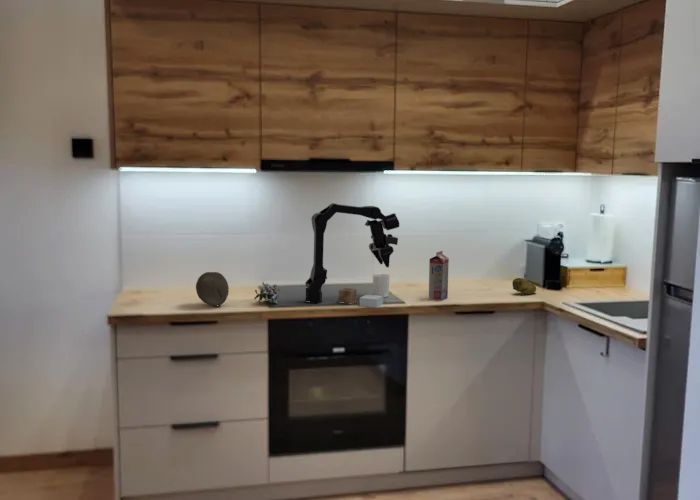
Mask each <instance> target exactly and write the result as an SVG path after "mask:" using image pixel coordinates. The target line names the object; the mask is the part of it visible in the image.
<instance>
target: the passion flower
mask: <svg viewBox="0 0 700 500" xmlns="http://www.w3.org/2000/svg"><path fill="white" fill-rule="evenodd" d="M261 284H262V285H263V287H264V288H263V287H261V289H260V293H258V291H257V289H254V292H255V294H256V296H255V297H254V298H253V300H256V299H258V303H261V301H262V300H263V299H265V300H266V299H267V300H268V299H271V300H270V301H272V303H273V304H274V303H275V302H278V300H279V296H280V294H279V292H280V291H281V290H280V288H279V287H278V286H277V284H276V283H275V284H272V285H271V284H269V283H265V282H264V281H263V282H262V283H261ZM277 291H278V292H277Z"/></svg>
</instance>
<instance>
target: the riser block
mask: <svg viewBox="0 0 700 500" xmlns="http://www.w3.org/2000/svg"><path fill="white" fill-rule="evenodd" d="M383 304H384V297H383V296H378V295H374V294H365V295H363V296H360V297H359V307H363V308H364V307H366V308H373V309H374V308H376V309H377V308H379V307H381V306H382V305H383Z"/></svg>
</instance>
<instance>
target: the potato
mask: <svg viewBox="0 0 700 500" xmlns="http://www.w3.org/2000/svg"><path fill="white" fill-rule="evenodd" d="M512 290H515V291H516V292H518V293H521V294H523V295H532V294H535V293H536V291H537V286H536V285H535V284H534V283H532V282H529V281H528V280H527V279H525V278H523V277H516V278H515V279H513V281H512Z"/></svg>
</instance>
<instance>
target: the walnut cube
mask: <svg viewBox="0 0 700 500" xmlns="http://www.w3.org/2000/svg"><path fill="white" fill-rule="evenodd" d="M355 301H356V302H357V289H356V288H348V287H347V288H346V287H343V288H342V289H339V290H338V303H339V302H344V303H353V302H355ZM356 302H355V303H356ZM353 304H354V303H353Z"/></svg>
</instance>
